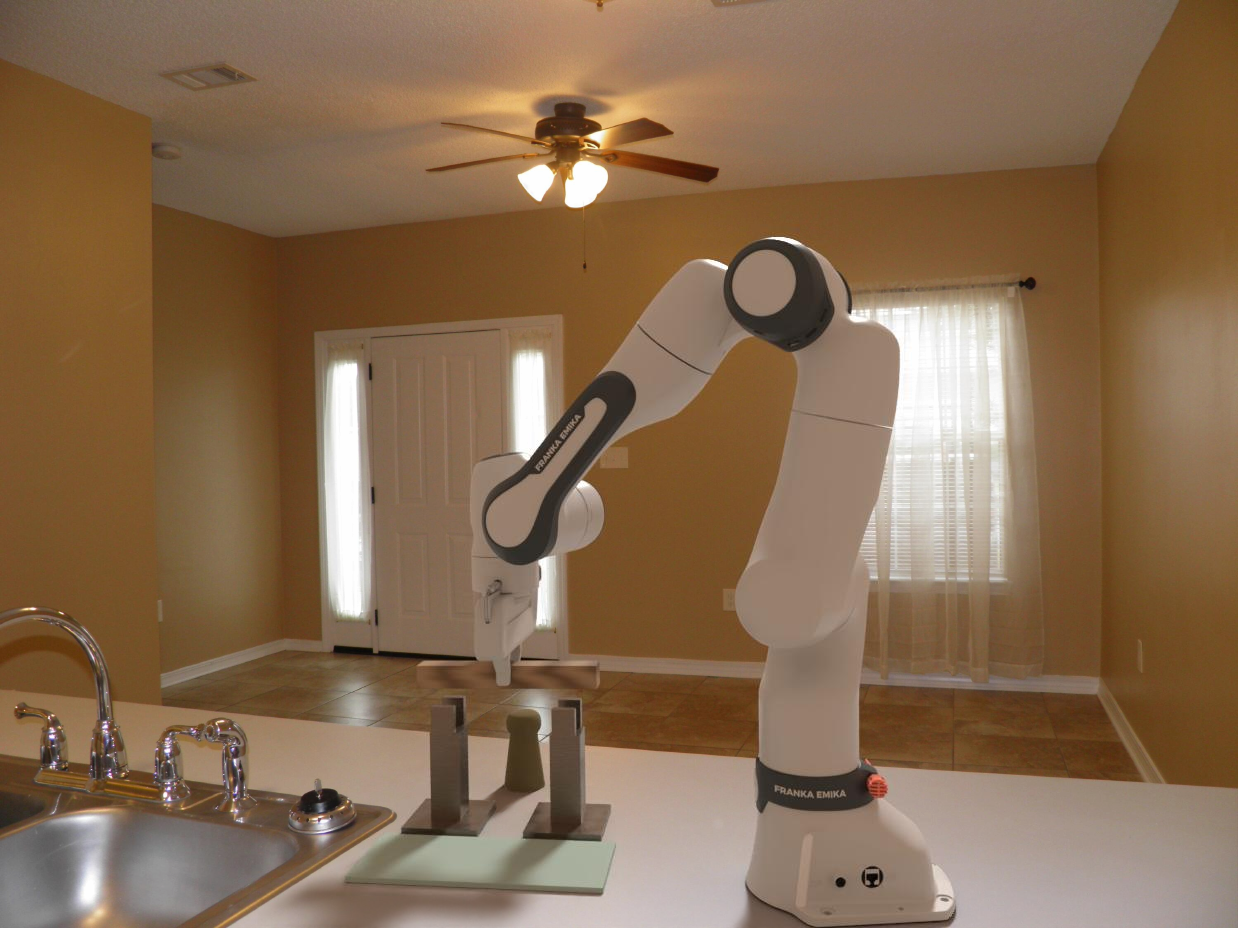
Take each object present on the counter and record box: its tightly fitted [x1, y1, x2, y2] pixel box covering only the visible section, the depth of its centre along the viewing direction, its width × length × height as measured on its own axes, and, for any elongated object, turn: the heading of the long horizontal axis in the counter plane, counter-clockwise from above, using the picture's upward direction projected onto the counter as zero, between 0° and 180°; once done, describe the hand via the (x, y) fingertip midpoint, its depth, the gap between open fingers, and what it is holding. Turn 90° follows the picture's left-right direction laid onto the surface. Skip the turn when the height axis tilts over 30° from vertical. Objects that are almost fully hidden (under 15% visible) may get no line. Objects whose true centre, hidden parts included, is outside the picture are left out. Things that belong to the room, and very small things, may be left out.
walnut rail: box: [415, 660, 601, 690], centre depth 122 cm, size 24×3×3 cm, turn 83°
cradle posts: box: [400, 694, 612, 842], centre depth 122 cm, size 26×10×16 cm, turn 83°
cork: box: [503, 708, 546, 793], centre depth 136 cm, size 6×6×11 cm
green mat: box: [344, 832, 617, 894], centre depth 110 cm, size 30×12×1 cm, turn 83°
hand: (508, 680), depth 122 cm, fingers closed on walnut rail, 3 cm apart
